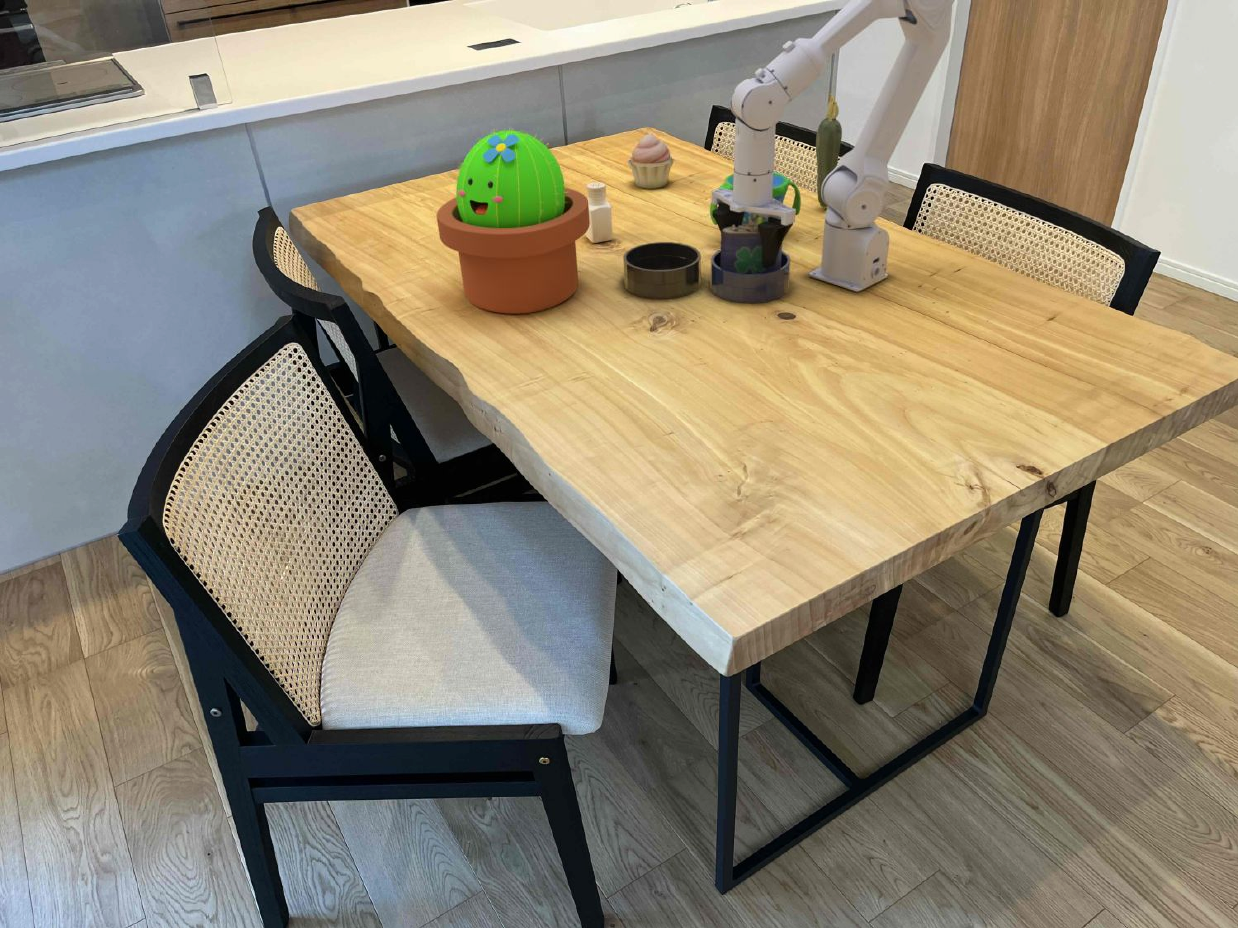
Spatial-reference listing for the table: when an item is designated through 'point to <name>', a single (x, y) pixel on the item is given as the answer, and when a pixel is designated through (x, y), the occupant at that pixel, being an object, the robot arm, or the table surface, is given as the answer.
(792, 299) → the table surface
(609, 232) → the pepper shaker
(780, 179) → the snack cup
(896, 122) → the robot arm
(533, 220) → the potted cactus
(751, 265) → the flask
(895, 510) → the table surface
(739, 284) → the indigo bowl
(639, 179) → the cupcake
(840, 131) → the vegetable
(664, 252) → the charcoal bowl
